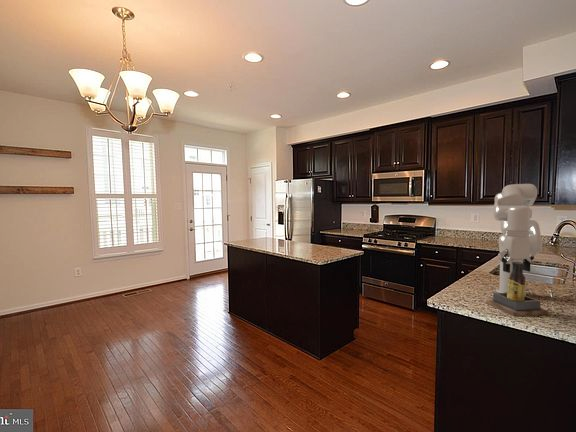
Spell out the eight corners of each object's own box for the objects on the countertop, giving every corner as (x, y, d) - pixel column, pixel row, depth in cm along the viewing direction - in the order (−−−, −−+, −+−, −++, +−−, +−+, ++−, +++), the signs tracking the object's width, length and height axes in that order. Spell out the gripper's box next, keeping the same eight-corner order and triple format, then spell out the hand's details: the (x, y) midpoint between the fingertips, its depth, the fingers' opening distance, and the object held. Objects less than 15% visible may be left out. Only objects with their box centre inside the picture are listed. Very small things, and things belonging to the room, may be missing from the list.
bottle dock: (517, 301, 138) (517, 290, 138) (547, 314, 123) (548, 301, 123) (486, 303, 137) (486, 292, 137) (513, 316, 122) (513, 303, 122)
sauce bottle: (503, 303, 133) (504, 261, 132) (515, 302, 134) (516, 260, 133) (515, 308, 127) (516, 264, 126) (528, 307, 127) (529, 263, 126)
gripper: (527, 232, 133) (526, 268, 134) (492, 233, 131) (492, 270, 133) (543, 234, 125) (542, 272, 127) (506, 235, 124) (505, 274, 125)
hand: (516, 271), depth 130 cm, fingers open, 9 cm apart
